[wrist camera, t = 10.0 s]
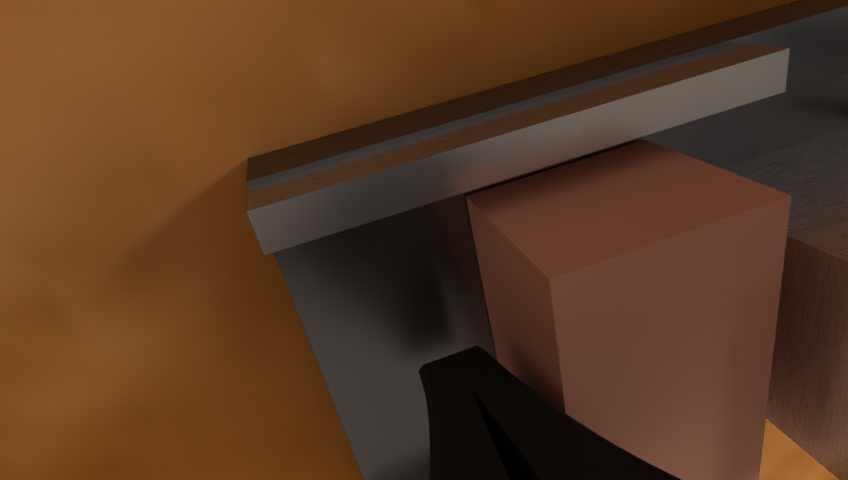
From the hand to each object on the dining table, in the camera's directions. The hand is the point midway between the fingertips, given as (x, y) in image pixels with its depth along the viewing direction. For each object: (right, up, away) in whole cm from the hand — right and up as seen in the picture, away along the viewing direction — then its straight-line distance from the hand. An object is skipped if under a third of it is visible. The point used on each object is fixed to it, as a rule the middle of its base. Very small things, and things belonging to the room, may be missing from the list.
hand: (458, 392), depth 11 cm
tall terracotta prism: (+3, +2, +2) cm, 4 cm away
